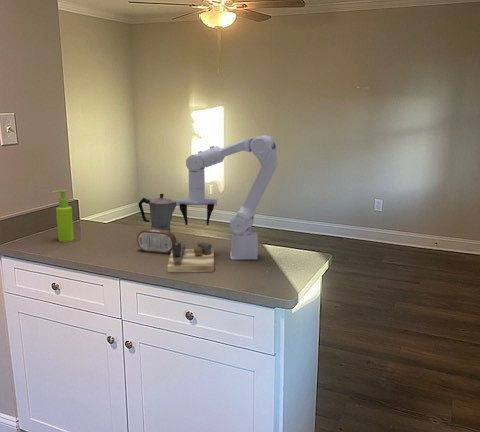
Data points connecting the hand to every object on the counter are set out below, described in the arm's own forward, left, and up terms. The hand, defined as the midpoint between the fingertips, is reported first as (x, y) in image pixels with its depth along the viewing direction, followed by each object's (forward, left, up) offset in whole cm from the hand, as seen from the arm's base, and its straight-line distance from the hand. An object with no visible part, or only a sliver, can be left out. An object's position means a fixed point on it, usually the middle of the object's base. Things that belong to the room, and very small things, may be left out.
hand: (197, 224), depth 180 cm
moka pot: (+15, -10, -11) cm, 21 cm away
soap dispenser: (+53, -17, -11) cm, 57 cm away
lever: (+6, +13, -8) cm, 17 cm away
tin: (+15, 0, -11) cm, 18 cm away
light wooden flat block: (+1, +12, -10) cm, 16 cm away
